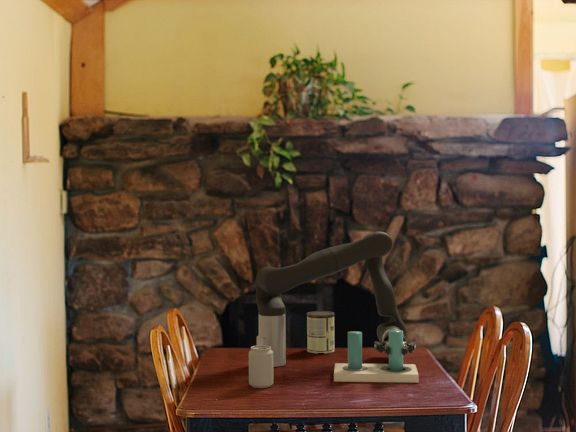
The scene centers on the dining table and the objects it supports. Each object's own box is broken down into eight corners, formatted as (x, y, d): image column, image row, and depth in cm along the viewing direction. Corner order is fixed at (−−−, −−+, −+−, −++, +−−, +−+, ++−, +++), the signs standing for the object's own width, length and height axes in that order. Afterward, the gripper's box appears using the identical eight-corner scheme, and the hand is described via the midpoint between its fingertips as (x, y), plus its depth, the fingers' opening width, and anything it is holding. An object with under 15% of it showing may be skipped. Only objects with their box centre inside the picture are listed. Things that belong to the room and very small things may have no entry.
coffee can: (307, 347, 291) (307, 310, 290) (335, 348, 290) (335, 310, 289) (305, 353, 280) (305, 315, 280) (334, 354, 279) (333, 315, 279)
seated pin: (352, 378, 242) (352, 334, 242) (345, 375, 247) (345, 332, 246) (364, 377, 244) (364, 333, 244) (357, 374, 248) (357, 330, 248)
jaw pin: (393, 377, 241) (393, 332, 241) (386, 374, 245) (386, 330, 245) (406, 375, 243) (405, 331, 243) (398, 372, 247) (397, 329, 247)
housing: (418, 382, 237) (418, 374, 237) (333, 381, 239) (333, 372, 239) (415, 371, 251) (415, 363, 251) (335, 370, 253) (335, 362, 253)
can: (277, 383, 237) (276, 345, 236) (268, 389, 230) (268, 349, 229) (254, 382, 239) (253, 343, 239) (245, 387, 232) (244, 348, 232)
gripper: (372, 329, 259) (373, 339, 242) (415, 330, 258) (419, 340, 240) (372, 351, 259) (373, 363, 242) (415, 352, 258) (419, 364, 241)
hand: (396, 351), depth 241 cm, fingers closed on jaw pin, 4 cm apart
